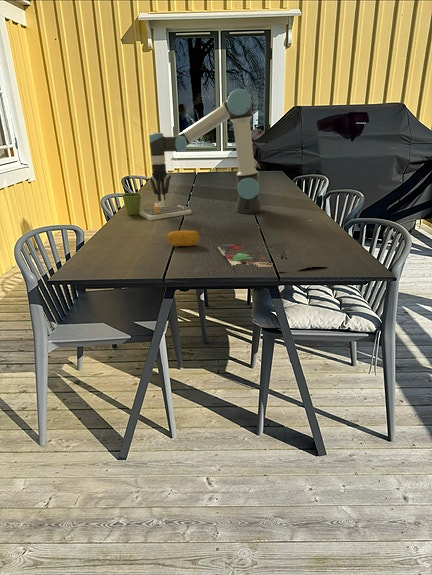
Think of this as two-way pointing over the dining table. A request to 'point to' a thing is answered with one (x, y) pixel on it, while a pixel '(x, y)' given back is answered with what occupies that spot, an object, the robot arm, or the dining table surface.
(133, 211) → the plant pot
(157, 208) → the fader knob
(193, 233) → the potato
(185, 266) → the dining table surface
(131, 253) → the dining table surface
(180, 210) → the fader panel
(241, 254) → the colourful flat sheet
